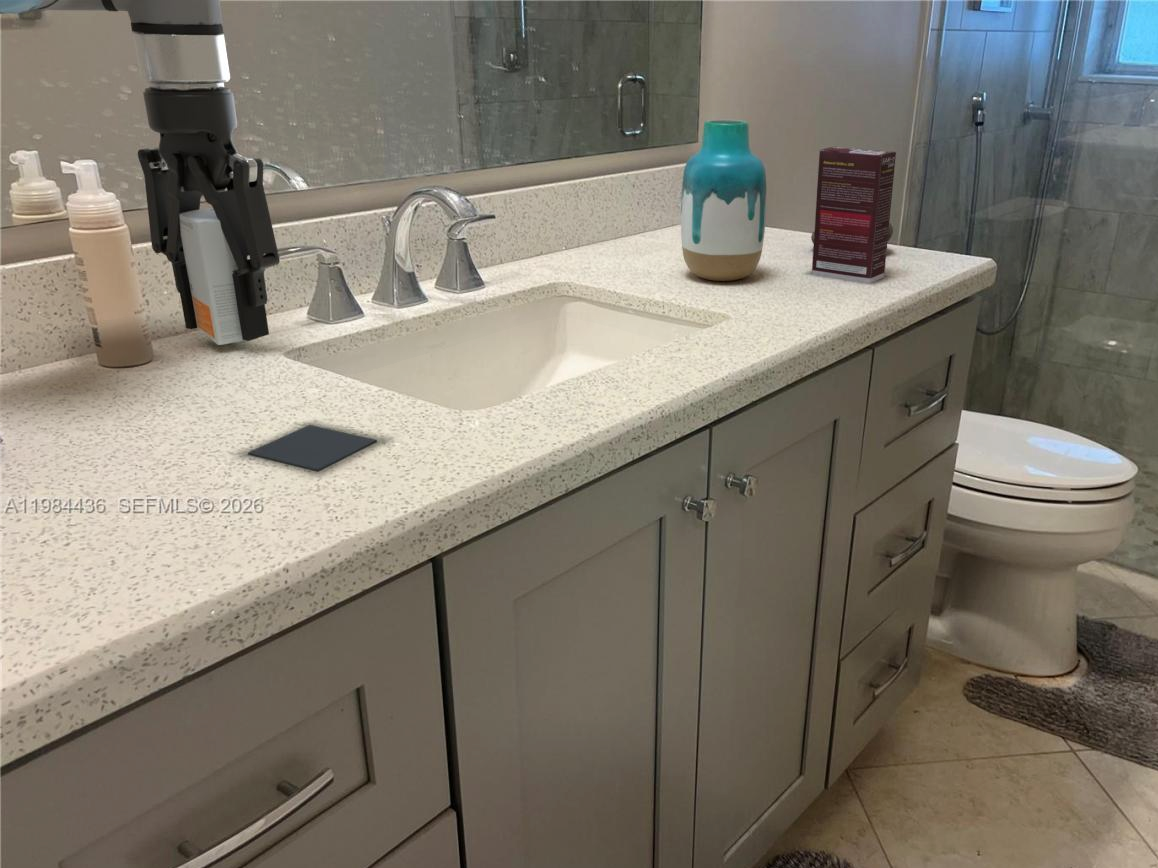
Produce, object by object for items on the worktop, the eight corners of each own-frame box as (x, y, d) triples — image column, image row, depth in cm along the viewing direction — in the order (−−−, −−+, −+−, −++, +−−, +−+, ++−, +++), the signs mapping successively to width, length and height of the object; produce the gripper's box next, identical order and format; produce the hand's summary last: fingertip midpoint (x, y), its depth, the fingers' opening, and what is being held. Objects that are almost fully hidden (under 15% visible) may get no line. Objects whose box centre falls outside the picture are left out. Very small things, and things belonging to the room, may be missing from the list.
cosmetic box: (196, 331, 105) (174, 211, 100) (239, 325, 108) (220, 207, 103) (216, 346, 101) (195, 221, 96) (260, 339, 104) (242, 216, 98)
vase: (778, 283, 132) (788, 123, 123) (709, 293, 127) (714, 127, 118) (731, 266, 140) (737, 115, 131) (664, 275, 135) (665, 119, 126)
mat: (248, 458, 80) (247, 452, 79) (310, 430, 85) (309, 424, 85) (318, 475, 77) (317, 469, 77) (377, 445, 82) (377, 439, 82)
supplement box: (885, 279, 135) (898, 150, 128) (869, 286, 131) (882, 154, 124) (825, 269, 139) (835, 145, 132) (808, 276, 136) (818, 148, 129)
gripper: (300, 89, 94) (330, 336, 104) (145, 77, 101) (186, 309, 111) (235, 94, 87) (273, 356, 97) (75, 81, 95) (125, 325, 105)
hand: (227, 331), depth 104 cm, fingers closed on cosmetic box, 7 cm apart
